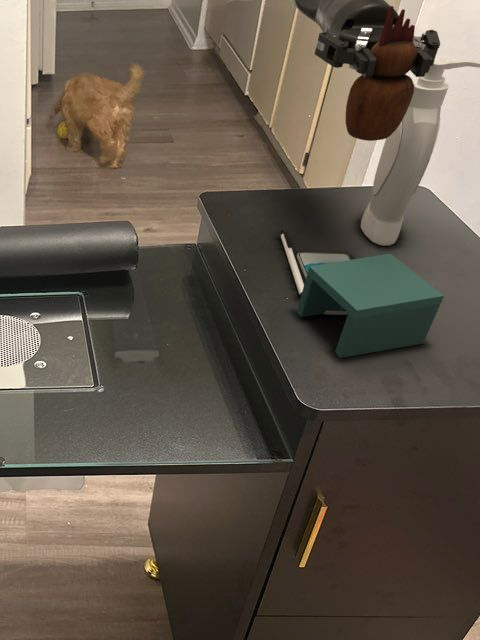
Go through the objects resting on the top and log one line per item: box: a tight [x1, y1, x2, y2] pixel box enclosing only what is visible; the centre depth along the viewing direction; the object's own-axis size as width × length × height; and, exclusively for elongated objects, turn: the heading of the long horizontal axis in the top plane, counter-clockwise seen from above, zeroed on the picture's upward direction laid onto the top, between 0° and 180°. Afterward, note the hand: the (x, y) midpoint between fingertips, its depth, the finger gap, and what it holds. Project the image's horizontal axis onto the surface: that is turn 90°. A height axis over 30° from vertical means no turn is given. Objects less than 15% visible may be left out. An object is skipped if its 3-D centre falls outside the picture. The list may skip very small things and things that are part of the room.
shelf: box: [296, 253, 445, 359], centre depth 89 cm, size 11×10×7 cm
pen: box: [280, 229, 305, 298], centre depth 102 cm, size 1×19×1 cm, turn 171°
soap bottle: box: [360, 58, 480, 247], centre depth 101 cm, size 13×8×24 cm, turn 164°
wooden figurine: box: [345, 5, 417, 142], centre depth 86 cm, size 7×6×15 cm
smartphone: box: [296, 251, 352, 316], centre depth 99 cm, size 7×1×15 cm
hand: (397, 68), depth 83 cm, fingers closed on wooden figurine, 5 cm apart
